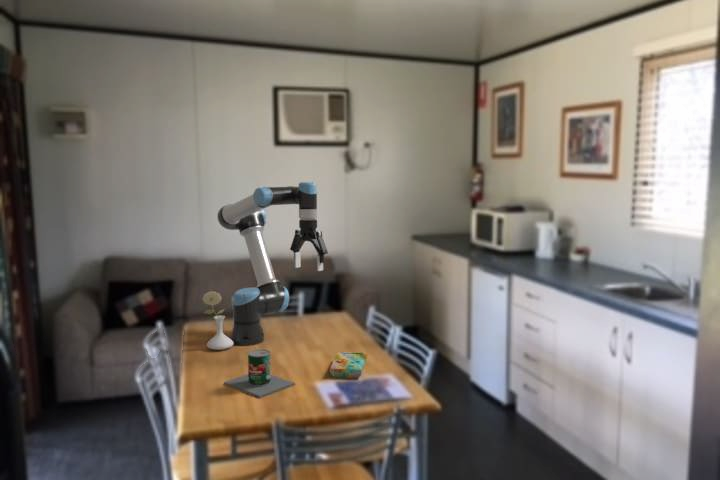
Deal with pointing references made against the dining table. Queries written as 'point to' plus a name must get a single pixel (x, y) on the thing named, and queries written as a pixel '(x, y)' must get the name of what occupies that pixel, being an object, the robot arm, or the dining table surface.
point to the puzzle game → (348, 364)
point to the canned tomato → (259, 368)
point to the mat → (260, 391)
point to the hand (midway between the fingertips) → (308, 269)
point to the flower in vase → (219, 339)
